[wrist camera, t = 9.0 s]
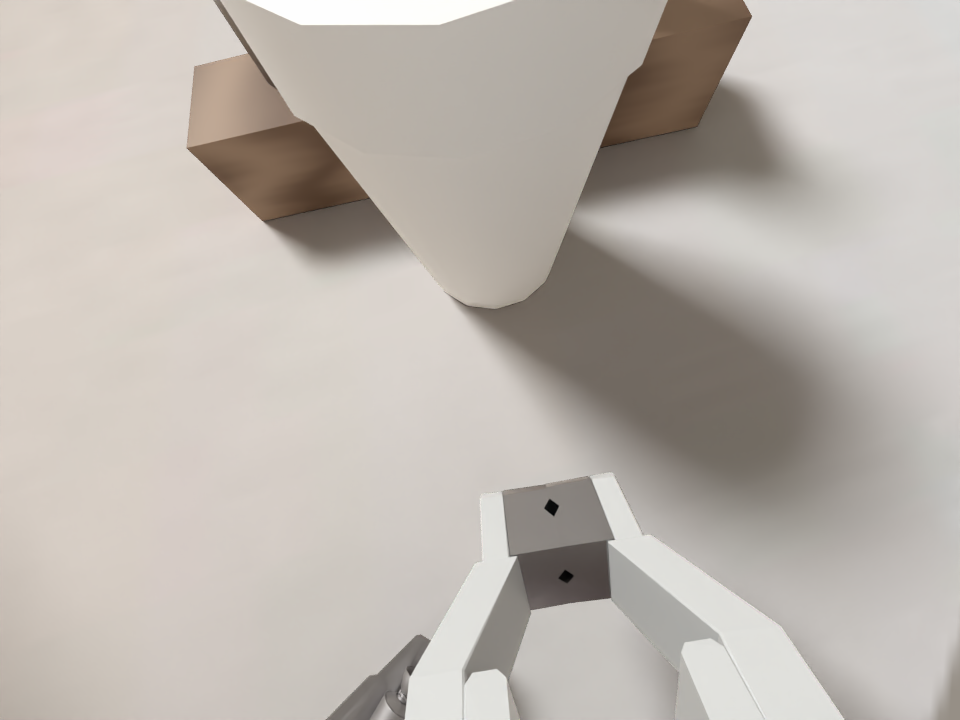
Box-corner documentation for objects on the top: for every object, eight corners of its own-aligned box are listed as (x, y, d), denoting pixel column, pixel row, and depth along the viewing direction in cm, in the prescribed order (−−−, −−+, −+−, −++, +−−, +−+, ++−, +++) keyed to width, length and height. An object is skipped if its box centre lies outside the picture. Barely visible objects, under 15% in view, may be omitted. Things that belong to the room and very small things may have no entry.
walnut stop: (262, 221, 21) (6, -26, 11) (263, 152, 23) (39, -124, 12) (697, 126, 20) (892, -266, 9) (667, 59, 21) (806, -343, 11)
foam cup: (447, 156, 21) (338, -297, 9) (611, 199, 19) (774, -305, 7) (370, 304, 19) (80, -18, 6) (547, 368, 17) (612, 85, 5)
